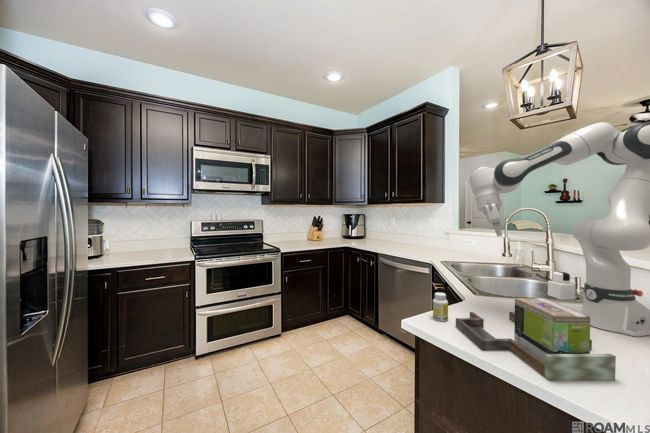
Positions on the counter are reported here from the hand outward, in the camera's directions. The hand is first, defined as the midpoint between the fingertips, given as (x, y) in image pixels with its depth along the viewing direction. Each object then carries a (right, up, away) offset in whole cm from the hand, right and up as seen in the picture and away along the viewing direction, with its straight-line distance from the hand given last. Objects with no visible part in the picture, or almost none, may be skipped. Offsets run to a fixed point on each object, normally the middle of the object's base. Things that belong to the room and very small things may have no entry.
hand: (499, 235), depth 107 cm
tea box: (-6, -33, -31) cm, 45 cm away
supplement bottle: (-26, -32, -4) cm, 42 cm away
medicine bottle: (+42, -31, +19) cm, 56 cm away
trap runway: (-7, -32, -25) cm, 41 cm away
